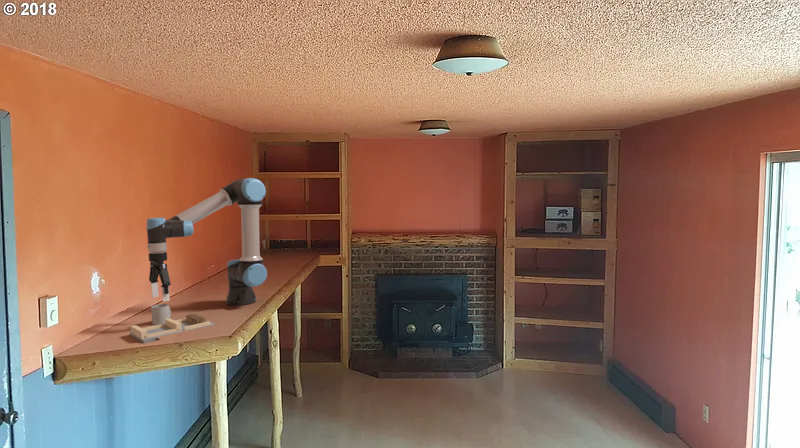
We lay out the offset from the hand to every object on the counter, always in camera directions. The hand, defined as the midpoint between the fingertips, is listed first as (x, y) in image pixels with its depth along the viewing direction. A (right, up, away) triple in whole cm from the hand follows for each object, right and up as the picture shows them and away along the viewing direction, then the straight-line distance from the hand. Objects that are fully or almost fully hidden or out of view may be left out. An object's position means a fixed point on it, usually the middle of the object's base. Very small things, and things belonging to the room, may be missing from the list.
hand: (160, 299), depth 237 cm
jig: (+10, -12, -10) cm, 19 cm away
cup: (+1, -12, +1) cm, 12 cm away
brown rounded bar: (+17, -10, -4) cm, 21 cm away
